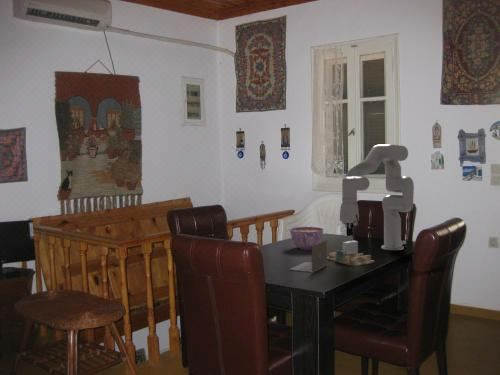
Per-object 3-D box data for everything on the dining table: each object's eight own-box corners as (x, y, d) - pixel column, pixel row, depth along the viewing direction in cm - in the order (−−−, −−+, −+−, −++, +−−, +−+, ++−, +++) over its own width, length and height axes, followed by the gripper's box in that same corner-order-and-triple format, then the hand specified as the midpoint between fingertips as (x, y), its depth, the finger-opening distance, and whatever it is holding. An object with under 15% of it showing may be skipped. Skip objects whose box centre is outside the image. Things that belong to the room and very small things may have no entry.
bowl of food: (313, 253, 289) (312, 233, 289) (283, 249, 301) (283, 230, 301) (329, 247, 305) (329, 228, 304) (301, 244, 317) (301, 226, 317)
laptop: (304, 263, 265) (304, 238, 264) (327, 265, 259) (327, 240, 258) (289, 270, 250) (288, 244, 249) (312, 273, 243) (312, 246, 242)
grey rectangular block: (342, 259, 267) (342, 242, 267) (353, 257, 271) (353, 240, 271) (346, 260, 265) (346, 243, 264) (357, 258, 269) (357, 241, 268)
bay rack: (345, 255, 281) (345, 244, 280) (374, 262, 262) (374, 251, 262) (325, 258, 274) (325, 247, 273) (354, 266, 255) (354, 254, 254)
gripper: (334, 200, 270) (334, 234, 271) (354, 202, 258) (354, 238, 259) (345, 199, 274) (345, 233, 275) (365, 201, 261) (365, 236, 263)
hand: (349, 235), depth 267 cm, fingers closed
